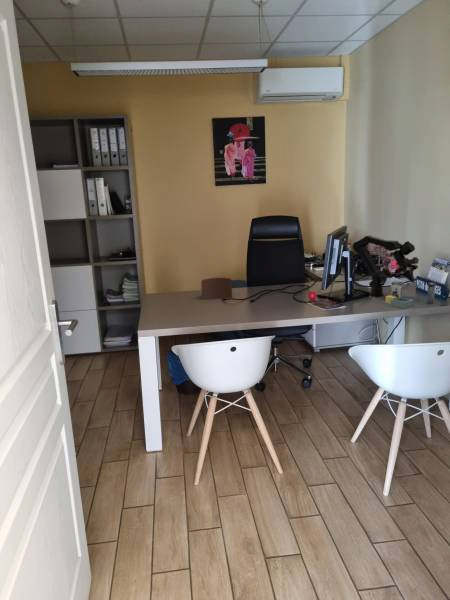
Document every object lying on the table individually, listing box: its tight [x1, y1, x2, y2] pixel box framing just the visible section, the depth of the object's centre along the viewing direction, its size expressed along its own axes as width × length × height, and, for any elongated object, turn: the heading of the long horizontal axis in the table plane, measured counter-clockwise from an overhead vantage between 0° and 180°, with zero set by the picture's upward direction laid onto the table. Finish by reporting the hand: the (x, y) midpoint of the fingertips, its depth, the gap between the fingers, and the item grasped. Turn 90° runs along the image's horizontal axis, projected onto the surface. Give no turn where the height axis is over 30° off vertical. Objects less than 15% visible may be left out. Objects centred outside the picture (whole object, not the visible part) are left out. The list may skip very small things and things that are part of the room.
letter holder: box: [200, 277, 233, 300], centre depth 306 cm, size 10×20×14 cm, turn 94°
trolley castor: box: [390, 284, 404, 298], centre depth 281 cm, size 5×6×10 cm
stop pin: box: [426, 282, 437, 305], centre depth 274 cm, size 4×4×12 cm
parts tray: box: [390, 296, 415, 310], centre depth 271 cm, size 9×9×4 cm
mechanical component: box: [391, 281, 410, 292], centre depth 289 cm, size 3×10×10 cm, turn 78°
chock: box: [385, 294, 397, 305], centre depth 279 cm, size 5×4×4 cm
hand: (413, 281), depth 276 cm, fingers closed
